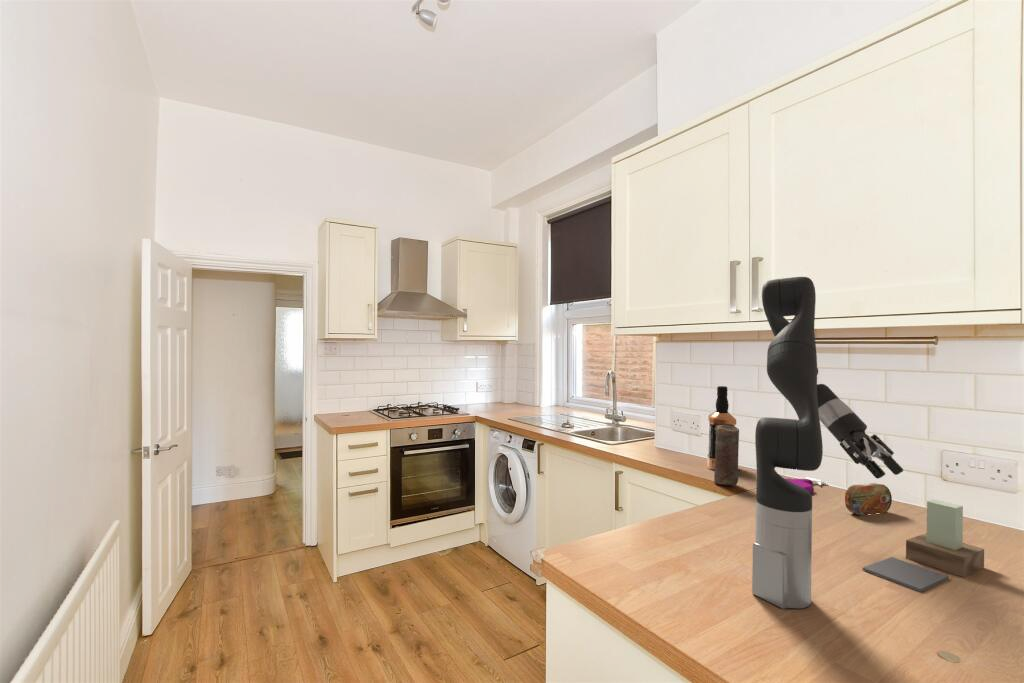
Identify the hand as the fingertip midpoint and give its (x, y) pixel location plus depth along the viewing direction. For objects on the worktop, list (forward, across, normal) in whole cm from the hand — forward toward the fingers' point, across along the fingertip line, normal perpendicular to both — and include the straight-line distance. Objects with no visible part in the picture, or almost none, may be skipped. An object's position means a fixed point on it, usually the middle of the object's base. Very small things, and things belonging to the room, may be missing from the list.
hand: (890, 474), depth 115 cm
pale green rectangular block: (+16, 0, +2) cm, 16 cm away
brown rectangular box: (+19, 0, +5) cm, 20 cm away
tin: (+2, +21, +23) cm, 31 cm away
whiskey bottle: (-36, +27, +61) cm, 76 cm away
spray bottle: (-15, +28, +40) cm, 51 cm away
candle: (-24, +8, +49) cm, 55 cm away
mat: (+18, -15, +6) cm, 24 cm away
